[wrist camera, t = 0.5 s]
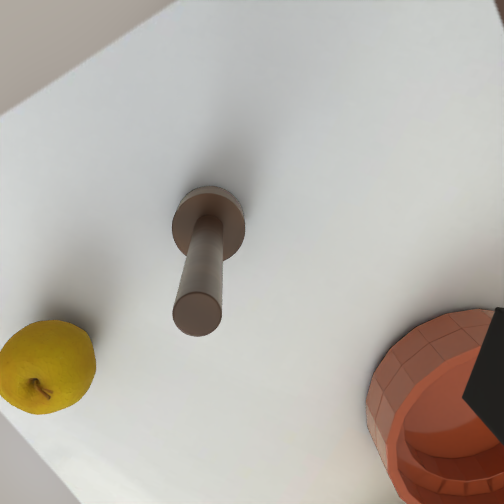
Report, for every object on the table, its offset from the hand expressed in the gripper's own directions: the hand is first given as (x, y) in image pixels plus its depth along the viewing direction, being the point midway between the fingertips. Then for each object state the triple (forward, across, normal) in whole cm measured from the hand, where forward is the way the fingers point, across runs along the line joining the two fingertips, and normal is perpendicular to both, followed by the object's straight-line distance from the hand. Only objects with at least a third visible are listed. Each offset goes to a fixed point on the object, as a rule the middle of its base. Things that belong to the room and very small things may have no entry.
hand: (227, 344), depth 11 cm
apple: (+25, -7, -16) cm, 31 cm away
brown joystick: (+25, +3, -5) cm, 25 cm away
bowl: (+20, +26, -18) cm, 37 cm away
